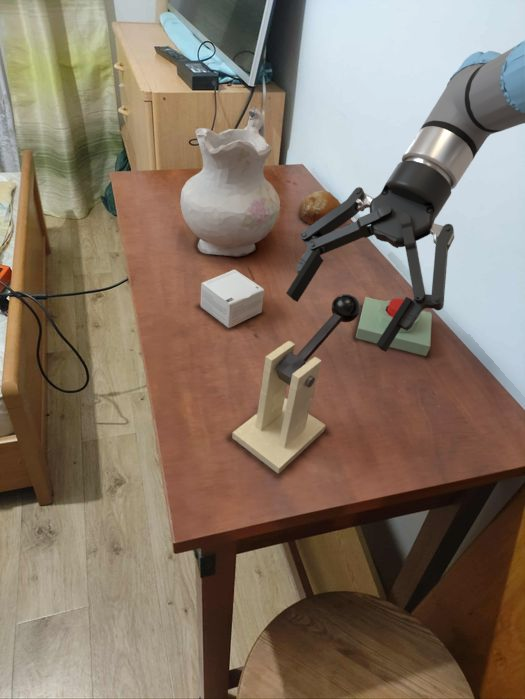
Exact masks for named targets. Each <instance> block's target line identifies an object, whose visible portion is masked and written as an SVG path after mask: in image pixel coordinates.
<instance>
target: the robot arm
mask: <svg viewBox="0 0 525 699" xmlns="http://www.w3.org/2000/svg"><path fill="white" fill-rule="evenodd" d="M523 124H525V39H524V40H523V41H521V42H520V43H518V44H517V45H515V46H513V47H512V48H510V49H507V51H505V52H503V53H500V52H497V51H494V50H488V51H486V52H483V51H476V52H474V53H471V54H470V55H468V56H467V57H466V58H465V59H464V60H463V62H462V64H461V65H460V66H459V67H458V69H457V70H456V71H455V72H454V73H453V74H452V76H450V78H449V81H448V82H447V83H446V87H445V89H444V90H443V92H442V93H441V95H440V96H439V98H438V99H437V101H436V103H435V105H434V106H433V108H432V109H431V111H430V112H429V114H428V116H427V118H426V119H425V121H424V123H422V125H421V128H420V129H419V131H418V132H417V134H416V136H415V137H414V138H413V140H412V142H411V143H410V144H409V145H408V147H407V149H406V150H405V152H404V153H403V155H402V157H401V162H399V163H397V165H396V167H395V168H394V170H392V173H391V174H390V176H389V177H388V179H387V181H386V183H385V184H384V186H383V187H382V190H381V192H380V193H379V194H378V195H377V196H375V197H373V196H371V195H369V194H367V193H365V191H364V189H363V187H361V186H358V187H356V188H355V189H354V190H352V192H351V194H350V195H349V196H348V198H347V199H346V200H345V201H343V202H342V203H340V205H339V206H337V207H336V208H335V209H333V210H332V211H330V212H329V213H328V214H326V215H325V216H323V217H322V218H321V219H319V220H318V221H316V222H315V223H314V224H310V225H309V226H308V227H306V228H305V229H304V230H302V231H301V232H300V233H299V237H300V239H301V240H302V241H303V242H304V243H303V244H305V245H306V250H305V252H304V253H303V255H302V256H301V257H300V259H299V261H298V263H297V265H296V267H295V271H296V272H297V273H298V274H297V275H296V277H295V278H294V280H293V281H292V283H291V284H290V286H289V288H288V290H287V291H286V293H285V294H286V295H287V296H288V297H289V298H290V299H292V300H293V301H295V302H296V303H298V302H299V301H300V299H301V298H302V296H303V294H304V293H305V291H306V290H307V288H308V287H309V285H310V284H311V281H312V280H313V278H314V277H315V275H316V273H317V272H318V270H320V267H321V265H322V264H323V262H324V258H322V255H325V254H327V253H329V252H331V251H334V250H336V249H339V248H341V247H343V246H346V245H348V244H350V243H351V244H352V243H354V242H355V241H358V240H361V239H363V238H365V239H367V238H370V237H373V236H374V237H375V239H376V240H378V241H381V242H383V243H384V242H386V243H388V244H390V245H391V246H392V247H394V248H395V249H399V248H405V253H406V260H407V265H408V270H409V277H410V283H411V288H412V293H413V299H412V298H410V297H408V296H405V298H404V299H403V300H404V301H403V303H402V304H401V306H400V307H399V309H398V311H397V312H396V314H395V315H394V317H393V318H392V320H391V322H390V323H389V325H388V326H387V328H386V330H385V331H384V333H383V334H382V336H381V337H380V339H379V341H378V342H377V344H376V346H377V347H378V348H379V350H381V351H383V352H385V353H386V352H387V351H388V349H389V348H390V347H389V346H390V345H391V343H392V342H393V340H394V338H395V337H396V335H397V334H398V332H399V331H400V329H401V328H403V329H405V330H406V331H408V330H409V329H410V328H411V327H412V325H413V324H414V322H415V321H416V319H417V318H418V316H419V314H420V313H421V311H424V310H425V309H433V310H435V311H441V310H442V309H443V308H444V305H445V294H446V281H447V267H448V257H449V256H448V255H449V250H450V248H451V245H452V243H453V242H454V239H455V230H454V226H453V224H451V223H445V224H444V225H441V224H438V223H435V220H436V219H437V217H438V216H439V214H440V213H441V211H442V209H443V207H444V206H445V205H446V203H447V202H448V200H449V198H450V197H451V195H452V190H453V189H455V188H456V187H457V185H458V184H459V182H460V181H461V179H462V177H463V176H464V175H465V173H466V172H467V169H468V168H469V167H470V165H471V164H472V162H473V161H474V159H475V157H476V156H477V154H478V152H480V149H481V148H482V146H483V144H484V143H485V141H486V140H487V138H489V137H490V135H493V134H496V133H500V132H502V131H507V130H508V129H512V128H514V127H518V126H519V125H523ZM367 208H369V213H367V214H365V215H362V216H360V217H358V218H357V220H355V221H354V222H352V223H349V224H347V225H345V226H342V225H344V224H345V223H347V222H348V221H349V220H351V219H352V218H353V217H355V216H356V215H357V214H359V212H364V211H365V209H367ZM429 235H432V242H433V244H435V249H434V261H433V273H432V282H431V283H432V284H431V294H427V293H426V290H425V285H424V284H425V283H424V278H423V273H422V268H421V262H420V256H419V250H418V244H417V242H418V241H419V240H421V239H424V238H425V237H428V236H429Z"/></svg>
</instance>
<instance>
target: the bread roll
mask: <svg viewBox="0 0 525 699" xmlns="http://www.w3.org/2000/svg"><path fill="white" fill-rule="evenodd" d="M340 204H341V202H340V201H339V199H337V198H336V197H335V196H334V194H332V193H331V192H330V191H327V190H316V191H313V192H312V193H309V194H308V195H306V196H305V197H304V198H303V199H302V201H301V203H300V204H299V207H298V214H299V217H300V218H301V220H302V221H304V222H305V223H307V224H308V225H312V224H314V223H315V222H316V221H318V220H319V219H321V218H322V217H323V216H325V215H326V214H328V213H329V212H330V211H332V210H333V209H335V208H336V207H337V206H339V205H340Z"/></svg>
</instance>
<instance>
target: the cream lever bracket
mask: <svg viewBox="0 0 525 699" xmlns="http://www.w3.org/2000/svg"><path fill="white" fill-rule="evenodd" d="M295 346H296V344H295V343H294V342H293V341H291V340H288V341H286V342H284V343H283V344H281V345H280V346H278V347H277V348H276V349H274V350H273V351H271V352H270V353H268V354H267V355H265V357H264V365H263V372H262V378H261V386H260V391H259V392H260V394H259V399H258V406H257V412H256V413H255V414H254V415H253V416H251V417H250V418H249V419H247V420H246V421H245V422H243V424H242V425H240V426H239V427H238V428H236V429H235V430H234V431H232V439H233V440H234V441H235V442H237V444H239V445H240V446H241V447H243V448H244V449H246V451H248V452H249V453H251V455H253V456H254V457H256V458H257V459H258V460H260V461H261V462H263V463H264V465H266V466H267V467H269V468H270V469H271V470H272V471H274V472H275V473H276V474H280V473H281V472H282V471H283V470H285V469H286V468H287V466H288V465H290V464H291V463H292V462H293V461H294V460H295V459H296V458H297V457H298V456H300V455H301V453H303V451H305V449H307V448H308V447H309V446H310V445H311V444H312V443H313V442H314V441H316V439H318V437H320V436H321V435H322V434H323V433H324V432H325V431H326V430H325V429H326V424H325V423H324V422H322V421H320V420H319V419H317V418H315V417H314V416H313V415H311V414H310V409H311V406H312V401H313V397H314V394H315V390H316V385H317V382H318V378H319V373H320V369H321V365H322V360H321V359H320V358H318V357H316V356H313V358H311V359H310V360H308V361H306V362H305V363H306V364H305V365H303V366H302V367H301V368H299V369H298V370H297V371H295V372H294V373H293V374H292V378H291V383H290V385H289V389H288V384H287V383H285V382H284V381H282V380H281V379H279V378H278V374H277V370H276V368H277V367H278V366H279V365H280V363H281V362H282V361H283V360H284V359H285V358H286V357H287V356H288V354H289V353H290V352H292V353H293V354H295V353H294V352H295V348H296V347H295ZM287 389H288V394H287ZM286 394H287V398H286Z"/></svg>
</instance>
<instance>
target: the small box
mask: <svg viewBox="0 0 525 699" xmlns="http://www.w3.org/2000/svg"><path fill="white" fill-rule="evenodd" d="M264 296H265V289H264V288H263V287H262V286H260V285H259V284H258V283H256V282H254V281H253V280H252V279H250V278H248V277H247V276H245V275H244V274H242V273H241V272H239V271H238V270H236V269H232V270H230V271H227V272H224V273H223V274H220V275H217V276H215V277H213V278H211V279H208V280H205V281H203V282H201V283H200V308H201V309H203V310H204V311H206V312H207V313H208V314H210V315H211V316H212V317H213V318H214V319H216V320H217V321H219V322H220V323H221V324H222V325H224V326H225V327H226V328H228V329H230V328H232V327H234V326H236V325H239V324H241V323H242V322H245V321H247V320H248V319H251V318H253V317H255V316H257V315H259V314H261V313H262V312H263V304H264Z"/></svg>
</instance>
